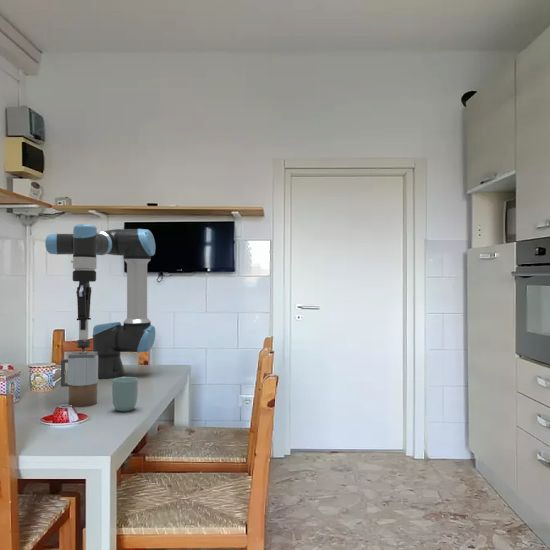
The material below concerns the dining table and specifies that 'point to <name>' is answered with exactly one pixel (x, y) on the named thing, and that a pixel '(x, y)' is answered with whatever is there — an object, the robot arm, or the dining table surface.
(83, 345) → the plunger
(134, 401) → the cup
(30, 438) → the dining table surface
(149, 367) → the dining table surface
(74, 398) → the carafe
